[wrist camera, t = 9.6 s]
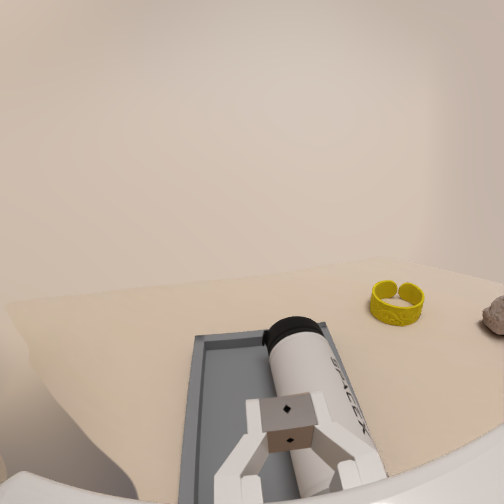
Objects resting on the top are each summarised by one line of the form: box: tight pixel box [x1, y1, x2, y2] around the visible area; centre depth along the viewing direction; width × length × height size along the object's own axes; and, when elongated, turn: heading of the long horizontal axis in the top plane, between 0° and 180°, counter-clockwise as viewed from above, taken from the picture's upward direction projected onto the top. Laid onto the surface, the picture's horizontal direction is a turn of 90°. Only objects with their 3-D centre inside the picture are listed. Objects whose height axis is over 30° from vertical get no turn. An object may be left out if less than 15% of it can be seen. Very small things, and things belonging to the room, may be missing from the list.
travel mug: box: [262, 316, 389, 498], centre depth 23 cm, size 6×7×20 cm
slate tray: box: [178, 322, 369, 504], centre depth 26 cm, size 16×22×2 cm
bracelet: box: [370, 280, 424, 326], centre depth 39 cm, size 7×8×3 cm
